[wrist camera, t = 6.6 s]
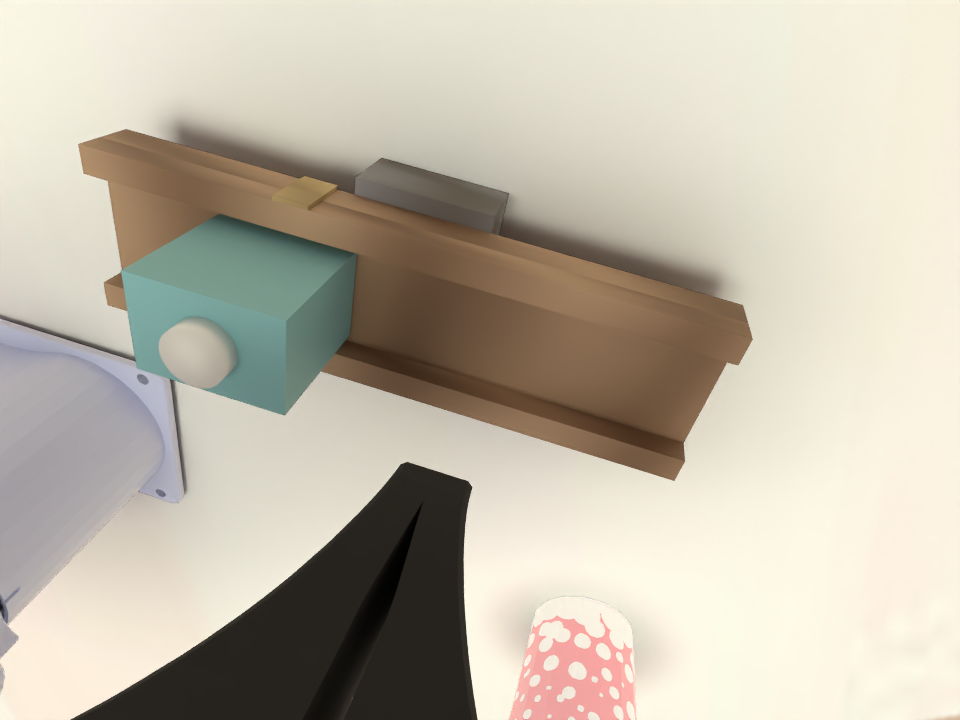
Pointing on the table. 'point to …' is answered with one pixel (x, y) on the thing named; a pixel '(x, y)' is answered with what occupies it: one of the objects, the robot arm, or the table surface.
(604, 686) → the beverage cup
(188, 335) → the rider
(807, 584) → the table surface
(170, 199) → the beam
